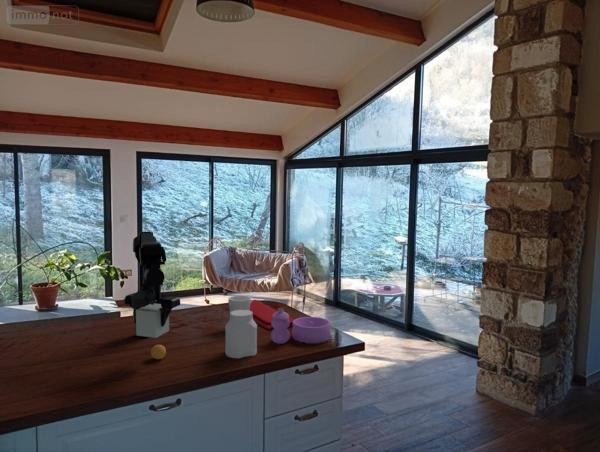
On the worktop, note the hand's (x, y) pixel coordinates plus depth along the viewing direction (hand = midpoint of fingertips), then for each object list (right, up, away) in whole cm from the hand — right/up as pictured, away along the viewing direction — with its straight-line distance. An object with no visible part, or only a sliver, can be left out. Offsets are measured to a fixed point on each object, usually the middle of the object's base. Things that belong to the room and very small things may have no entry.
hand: (152, 325), depth 155 cm
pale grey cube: (0, -3, 0) cm, 3 cm away
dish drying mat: (+33, -9, +58) cm, 68 cm away
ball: (+1, -10, +4) cm, 11 cm away
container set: (+51, -12, +28) cm, 59 cm away
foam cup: (+24, -10, +41) cm, 48 cm away
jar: (+29, -13, +11) cm, 34 cm away
